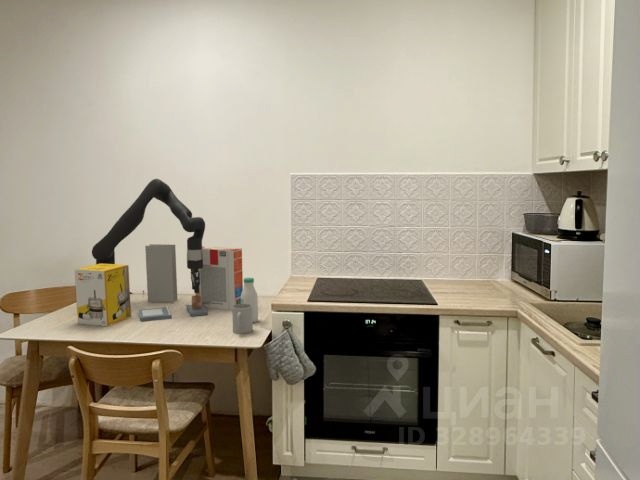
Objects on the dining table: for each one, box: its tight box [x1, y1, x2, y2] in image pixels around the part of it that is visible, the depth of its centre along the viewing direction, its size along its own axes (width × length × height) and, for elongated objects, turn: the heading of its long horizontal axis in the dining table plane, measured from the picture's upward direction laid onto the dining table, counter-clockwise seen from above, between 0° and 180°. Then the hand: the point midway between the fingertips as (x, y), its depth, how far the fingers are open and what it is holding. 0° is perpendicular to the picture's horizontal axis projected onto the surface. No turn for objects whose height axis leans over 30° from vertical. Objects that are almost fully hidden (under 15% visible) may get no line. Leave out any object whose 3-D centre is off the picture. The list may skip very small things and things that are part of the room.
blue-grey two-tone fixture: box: [185, 294, 209, 317], centre depth 253 cm, size 8×16×8 cm, turn 21°
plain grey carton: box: [145, 244, 178, 303], centre depth 274 cm, size 14×6×30 cm, turn 84°
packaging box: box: [74, 263, 132, 327], centre depth 238 cm, size 16×16×25 cm
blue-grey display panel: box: [138, 306, 172, 322], centre depth 246 cm, size 14×16×2 cm
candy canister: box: [241, 277, 259, 323], centre depth 235 cm, size 8×8×20 cm
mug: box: [231, 304, 254, 335], centre depth 220 cm, size 12×8×11 cm
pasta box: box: [195, 245, 244, 311], centre depth 262 cm, size 23×8×30 cm, turn 69°
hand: (195, 291), depth 252 cm, fingers open, 8 cm apart
